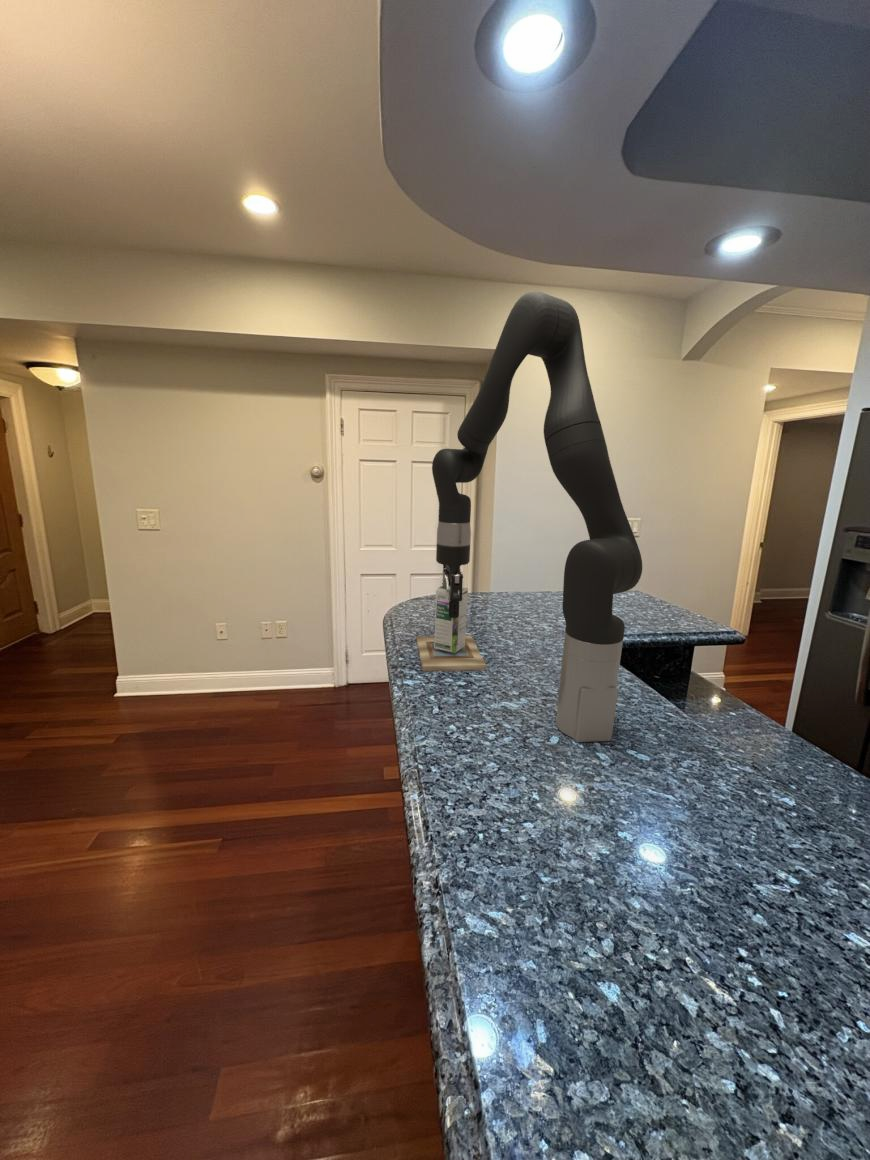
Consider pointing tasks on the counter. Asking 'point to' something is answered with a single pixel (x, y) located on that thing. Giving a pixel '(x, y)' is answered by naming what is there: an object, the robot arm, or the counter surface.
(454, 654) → the wooden picture frame
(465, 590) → the syrup box
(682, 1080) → the counter surface
